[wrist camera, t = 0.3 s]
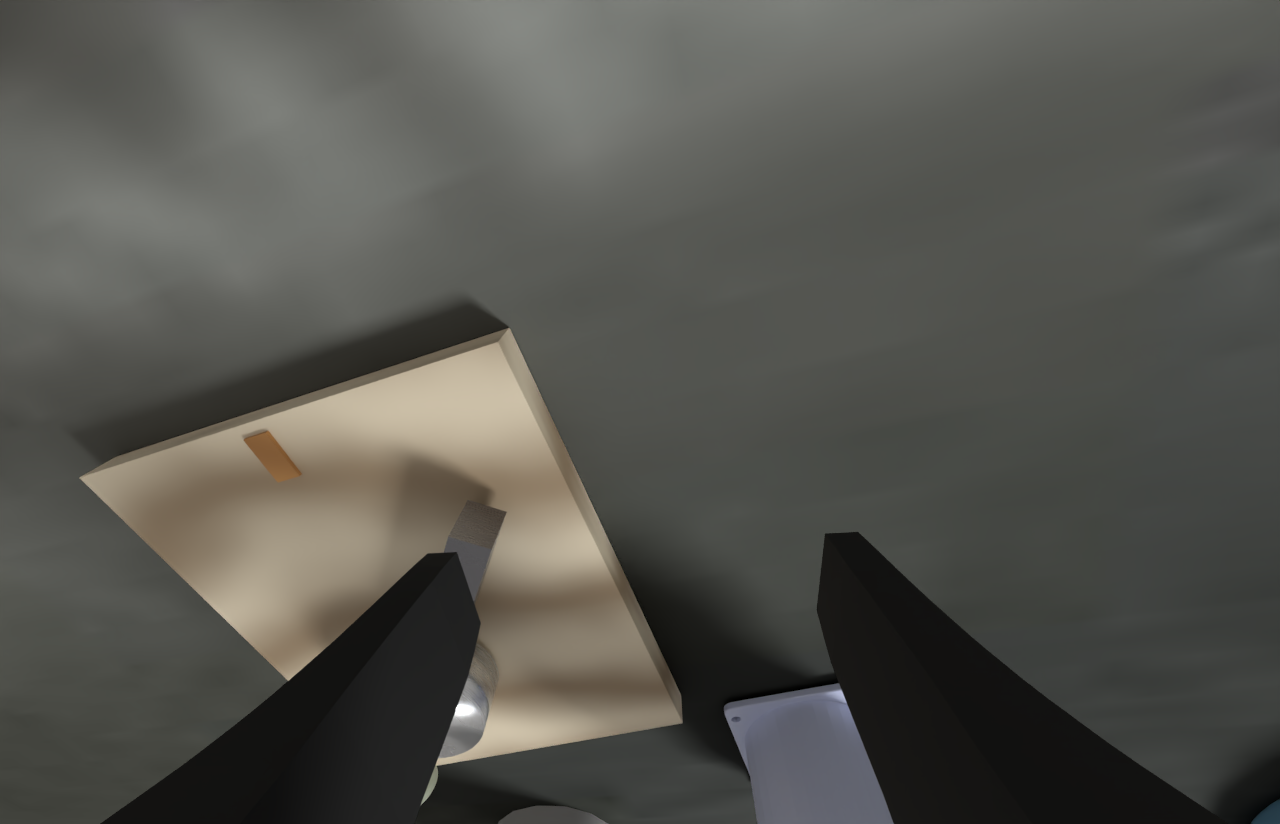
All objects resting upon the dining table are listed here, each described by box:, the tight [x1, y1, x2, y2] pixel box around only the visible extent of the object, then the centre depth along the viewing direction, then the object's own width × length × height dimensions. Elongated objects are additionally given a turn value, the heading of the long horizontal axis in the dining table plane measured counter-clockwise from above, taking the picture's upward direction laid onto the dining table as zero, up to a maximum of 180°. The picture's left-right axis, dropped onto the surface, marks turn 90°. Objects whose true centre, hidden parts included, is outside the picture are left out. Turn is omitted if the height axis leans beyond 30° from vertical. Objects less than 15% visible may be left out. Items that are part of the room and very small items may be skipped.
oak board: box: [79, 328, 683, 805], centre depth 22 cm, size 22×18×4 cm
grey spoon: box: [438, 500, 507, 758], centre depth 21 cm, size 14×6×2 cm, turn 158°
